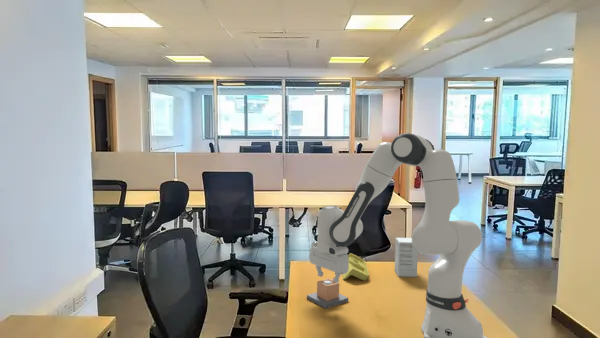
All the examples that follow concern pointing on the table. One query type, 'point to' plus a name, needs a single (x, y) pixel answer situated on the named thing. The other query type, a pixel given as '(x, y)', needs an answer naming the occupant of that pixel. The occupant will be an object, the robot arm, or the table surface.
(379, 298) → the table surface
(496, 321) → the table surface
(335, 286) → the sleeve
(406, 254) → the supplement box
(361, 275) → the plastic component
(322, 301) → the base
